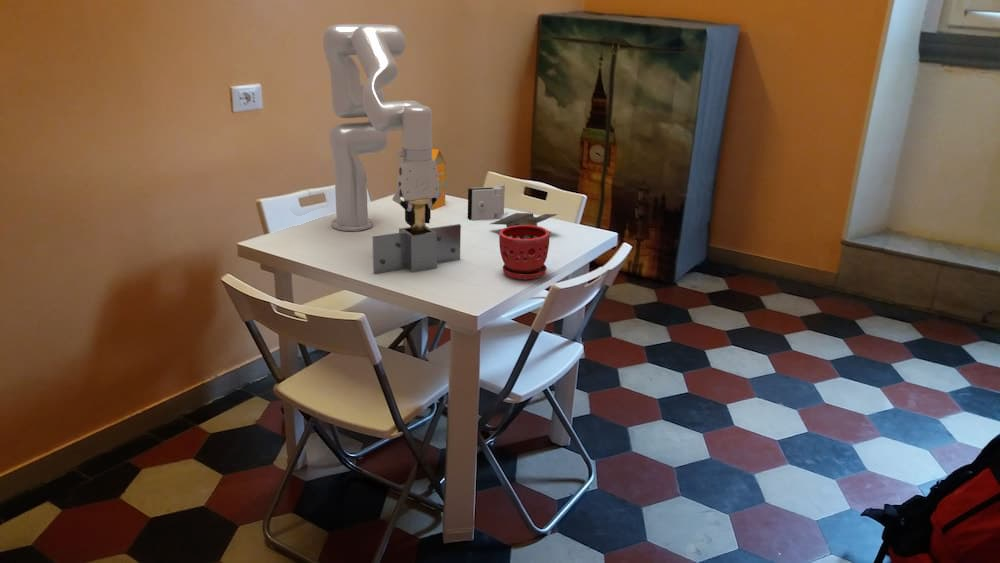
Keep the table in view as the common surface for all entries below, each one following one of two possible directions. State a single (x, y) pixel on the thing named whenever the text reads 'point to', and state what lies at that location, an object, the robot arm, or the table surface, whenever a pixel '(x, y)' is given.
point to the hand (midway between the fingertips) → (417, 222)
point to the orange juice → (440, 177)
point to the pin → (419, 215)
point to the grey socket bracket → (416, 249)
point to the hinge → (486, 203)
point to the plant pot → (524, 251)
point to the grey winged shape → (523, 219)
